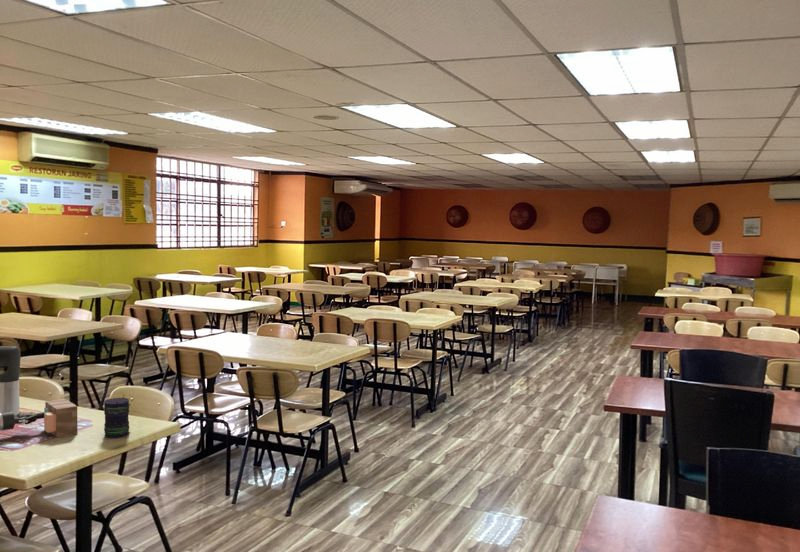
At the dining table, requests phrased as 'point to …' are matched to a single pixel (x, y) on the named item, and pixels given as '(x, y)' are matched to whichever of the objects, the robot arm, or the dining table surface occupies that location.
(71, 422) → the walnut console
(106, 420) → the dark blue barrel
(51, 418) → the terracotta button
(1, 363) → the robot arm
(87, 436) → the dining table surface
